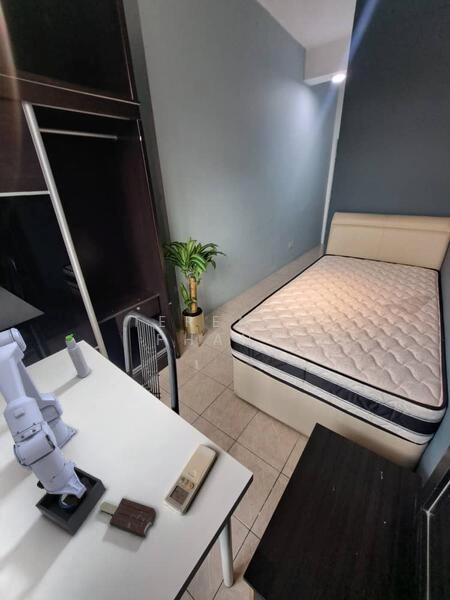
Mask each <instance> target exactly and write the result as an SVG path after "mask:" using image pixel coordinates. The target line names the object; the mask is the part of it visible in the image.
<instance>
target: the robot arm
mask: <svg viewBox="0 0 450 600" xmlns="http://www.w3.org/2000/svg"><path fill="white" fill-rule="evenodd" d="M26 350H27V345H26V342H25V341H24V339H23V337H22V335H21V332H20V331H19V330H18V328H14V327H12V328H10V329H8V330H4V331H1V332H0V394H1V395H2V397H3V400H4V402H5V403H6V406H5V408H4V410H3V412H2V415H3V417H4V420H5V422H6V425H7V427H8V430H9V432H10V435H11V437H12V439H13V442H14V444H13V445H12V450H13V455H14V457H15V460H16V461H17V463H18V464H19V466H20V467H21V468H23V469H26V470H27V471H28V472H32V473H33V475H35V477H36V478H37V482H36V487H37V488H39V489H40V490H45V492H48V493H50V494H58V495H59V494H68V495H67V496H66V497H65V499H64V500H63V501H62V502H64V503H65V504H67V505H70V506H72V505H76V506H77V507H79V506H80V504H81V503H82V502H83V500H84V499H85V498H86V489H87V486H88V484H89V481H88V479H86V478H84V477H83V478H82V479H81V480H80V481H79V479H78V477H77V475H76V473H75V471H74V467H77V463H76V462H75V461H74V460H69V461H68V460H67V459H66V457H65V455H64V454H63V452H62V451H61V448H62V447H64V445H65V444H66V443H67V442H68V441H69V440H70V439H71V438H72V437H73V435H74V434H76V430H75V429H72V428H70V427H68V426H67V425H66V424H65V421H64V419H63V418H62V417H61V416H63V414H64V410H63V407H62V405H61V403H60V401H59V399H58V397H56V394H55V393H53V392H40V390H39V388H38V387H37V385H36V383H35V381H34V380H33V378H32V376H31V375H30V372H29V371H28V369H27V367H26V366H25V363H24V362H23V360H22V359H23V358H24V357H25V354H24V352H25V351H26Z"/></svg>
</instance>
